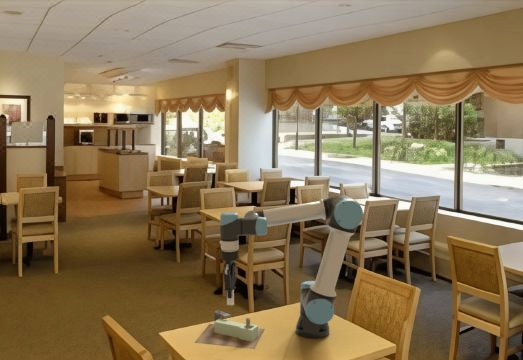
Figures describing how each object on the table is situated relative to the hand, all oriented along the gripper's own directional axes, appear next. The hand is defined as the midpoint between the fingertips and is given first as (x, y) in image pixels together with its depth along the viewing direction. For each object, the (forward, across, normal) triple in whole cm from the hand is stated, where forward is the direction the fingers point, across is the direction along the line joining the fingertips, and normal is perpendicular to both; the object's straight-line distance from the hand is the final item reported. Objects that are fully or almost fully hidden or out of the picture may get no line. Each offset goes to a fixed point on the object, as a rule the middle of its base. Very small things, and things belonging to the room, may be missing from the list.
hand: (230, 304), depth 226 cm
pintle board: (+17, -6, -2) cm, 19 cm away
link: (+17, -8, 0) cm, 18 cm away
